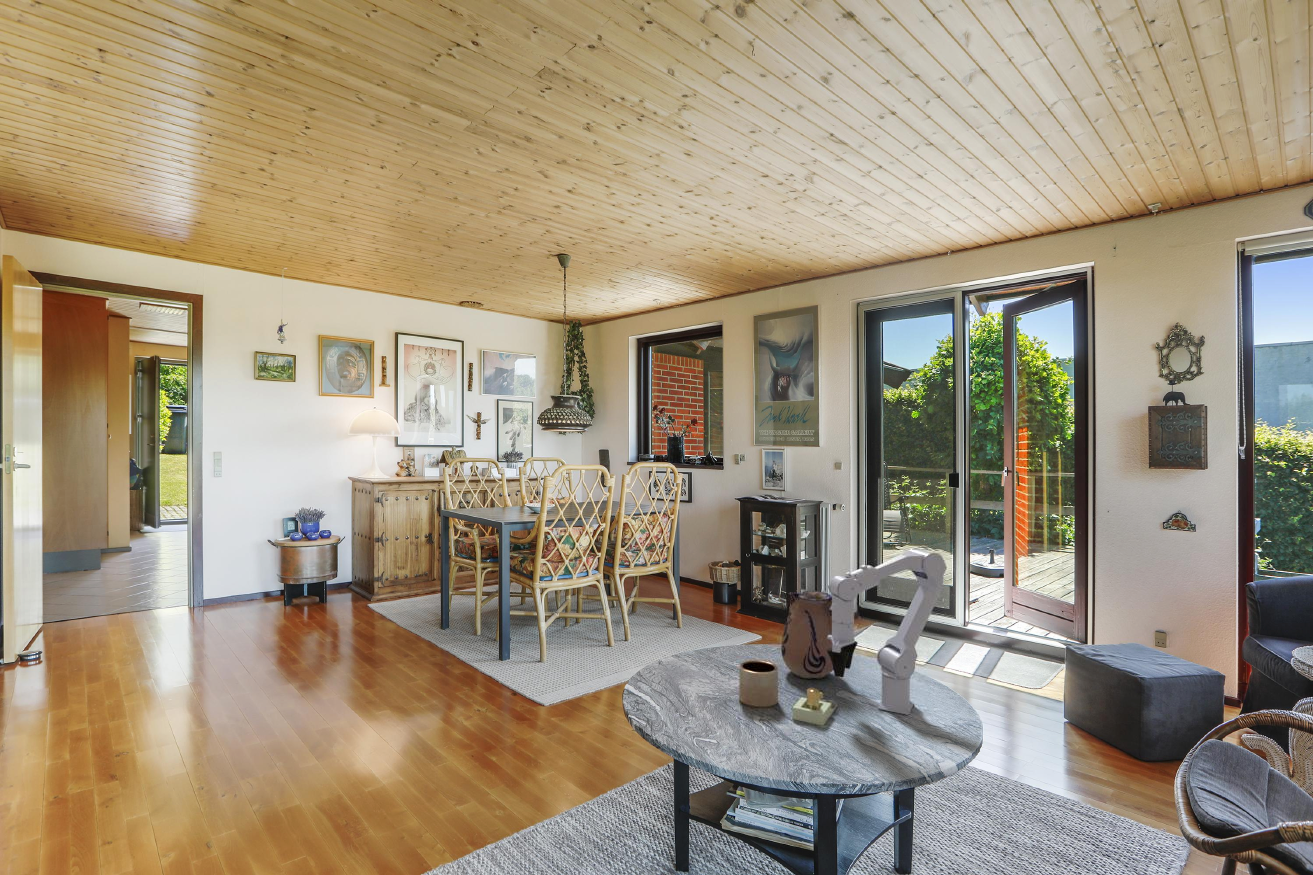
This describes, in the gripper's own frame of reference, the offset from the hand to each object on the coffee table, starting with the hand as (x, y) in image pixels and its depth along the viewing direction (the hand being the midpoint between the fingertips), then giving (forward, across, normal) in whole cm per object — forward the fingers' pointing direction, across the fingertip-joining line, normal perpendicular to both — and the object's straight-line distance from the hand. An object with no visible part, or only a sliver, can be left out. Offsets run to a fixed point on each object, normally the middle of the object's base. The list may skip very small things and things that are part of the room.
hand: (842, 672), depth 172 cm
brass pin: (+10, +8, -6) cm, 14 cm away
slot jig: (+10, +5, -6) cm, 13 cm away
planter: (+11, +5, -22) cm, 25 cm away
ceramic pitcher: (+11, -24, -14) cm, 30 cm away
